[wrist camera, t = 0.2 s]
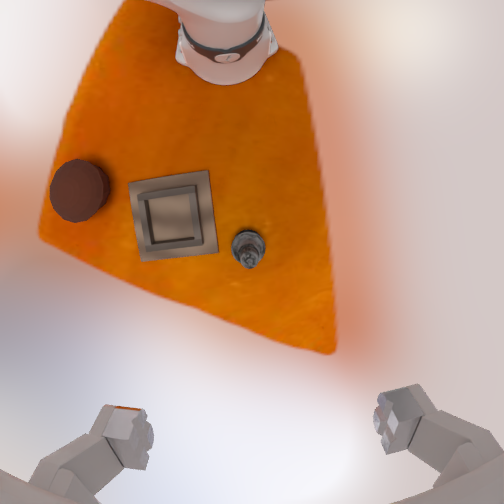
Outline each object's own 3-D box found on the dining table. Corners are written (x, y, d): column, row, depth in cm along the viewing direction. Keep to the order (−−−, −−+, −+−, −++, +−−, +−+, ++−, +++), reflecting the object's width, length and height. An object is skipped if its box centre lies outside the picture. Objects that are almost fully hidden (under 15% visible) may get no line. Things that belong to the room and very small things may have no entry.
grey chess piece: (264, 228, 56) (271, 244, 44) (263, 259, 57) (268, 282, 46) (232, 227, 55) (230, 243, 44) (231, 258, 57) (229, 281, 45)
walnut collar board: (129, 182, 52) (123, 183, 49) (208, 170, 53) (206, 170, 49) (142, 260, 56) (137, 265, 53) (218, 251, 57) (217, 256, 53)
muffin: (72, 220, 54) (46, 231, 44) (63, 167, 51) (36, 169, 41) (122, 210, 54) (100, 219, 44) (113, 153, 51) (89, 151, 41)
